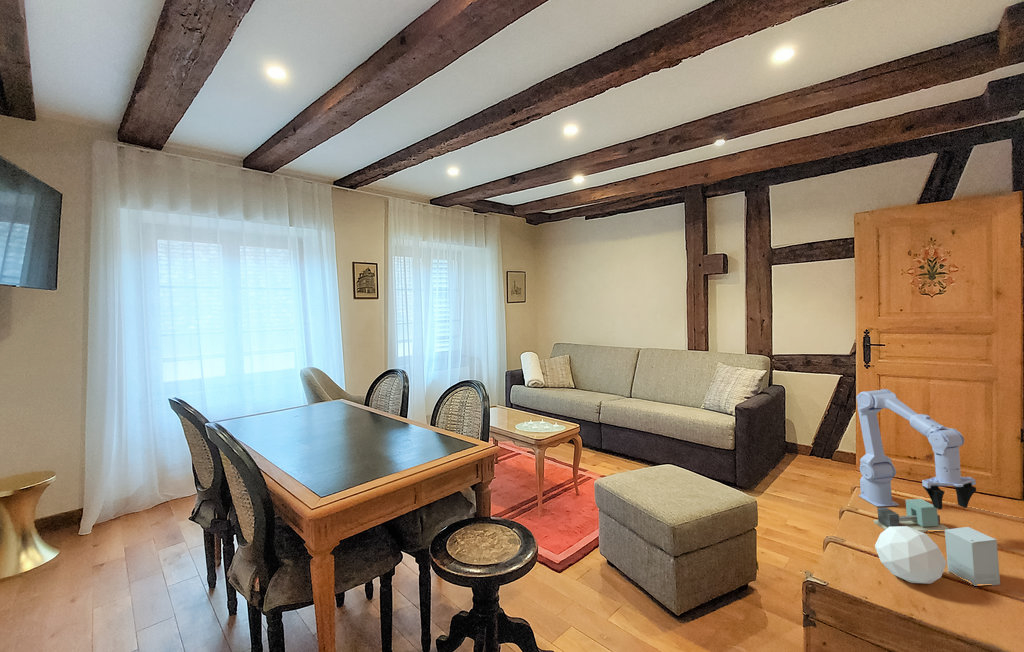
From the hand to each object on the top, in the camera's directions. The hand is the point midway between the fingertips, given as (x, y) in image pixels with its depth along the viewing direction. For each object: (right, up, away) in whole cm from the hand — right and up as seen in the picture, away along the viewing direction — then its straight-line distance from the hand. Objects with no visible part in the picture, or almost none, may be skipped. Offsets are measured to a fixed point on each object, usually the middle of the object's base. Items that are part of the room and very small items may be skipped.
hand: (950, 507), depth 136 cm
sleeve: (-2, -8, +8) cm, 11 cm away
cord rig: (-5, -10, +8) cm, 14 cm away
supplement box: (-13, -12, -19) cm, 26 cm away
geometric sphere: (-28, -14, -16) cm, 35 cm away
